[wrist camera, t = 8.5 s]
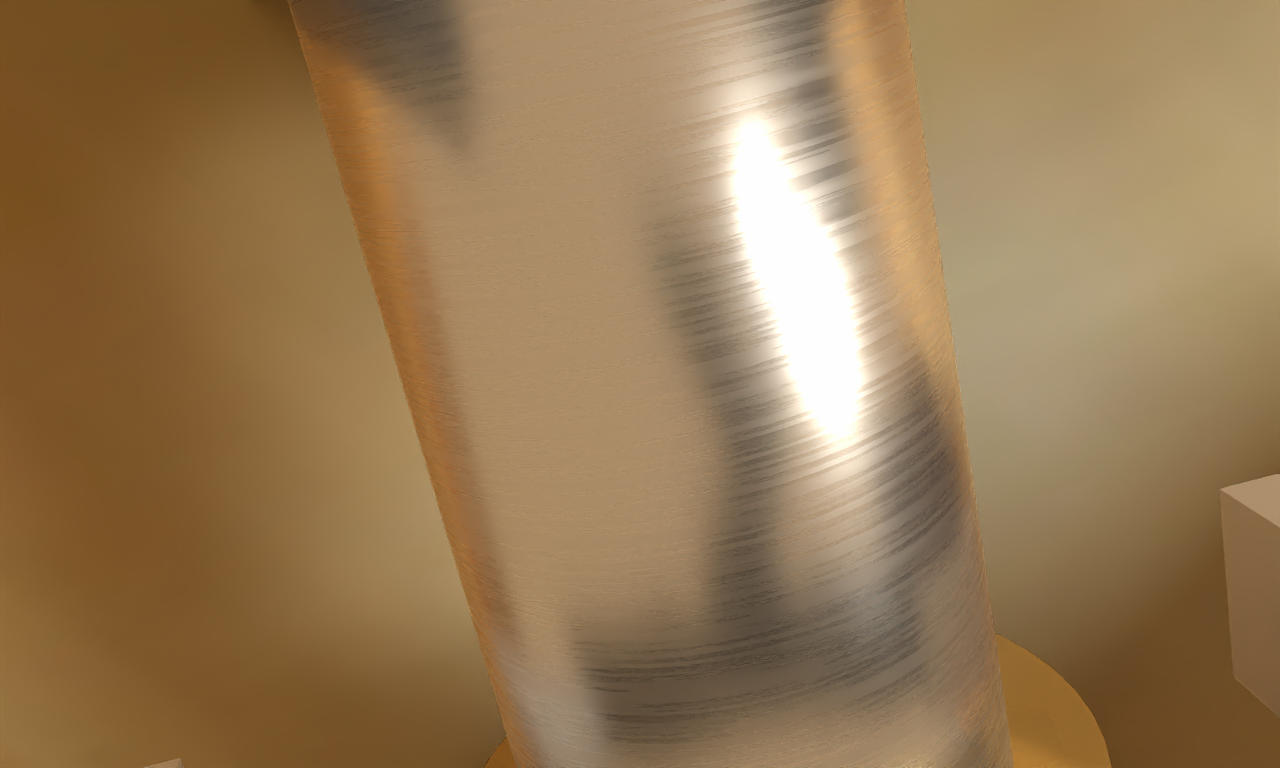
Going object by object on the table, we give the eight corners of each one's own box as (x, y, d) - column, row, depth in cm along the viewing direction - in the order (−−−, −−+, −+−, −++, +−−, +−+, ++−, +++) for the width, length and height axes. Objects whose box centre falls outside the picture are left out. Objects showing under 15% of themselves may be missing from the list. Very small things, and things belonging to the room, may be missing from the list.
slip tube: (113, -451, 10) (-355, -1034, 5) (784, -591, 11) (1126, -1302, 5) (606, 1155, 16) (669, 1773, 10) (1030, 1036, 16) (1315, 1576, 11)
